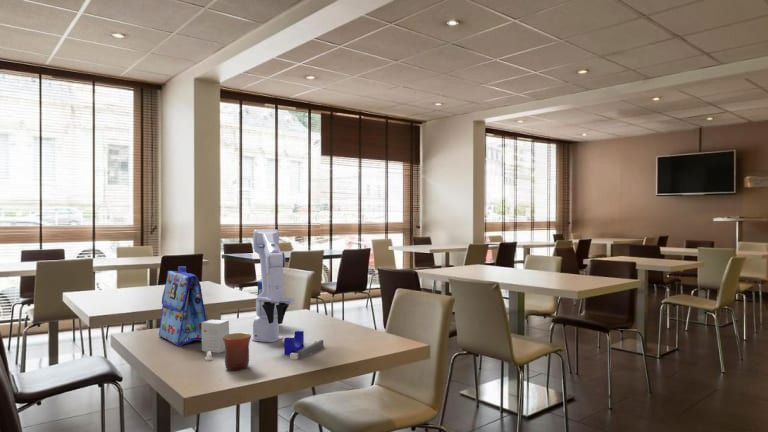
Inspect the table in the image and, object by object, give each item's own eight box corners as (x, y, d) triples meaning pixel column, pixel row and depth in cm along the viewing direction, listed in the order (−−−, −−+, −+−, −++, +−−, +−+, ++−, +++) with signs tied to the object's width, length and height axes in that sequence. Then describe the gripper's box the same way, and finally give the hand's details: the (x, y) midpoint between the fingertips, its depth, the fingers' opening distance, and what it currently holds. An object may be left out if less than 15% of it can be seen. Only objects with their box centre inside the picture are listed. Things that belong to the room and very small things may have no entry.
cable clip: (292, 346, 192) (292, 330, 192) (303, 347, 191) (303, 331, 191) (280, 355, 180) (280, 338, 180) (292, 355, 180) (292, 338, 180)
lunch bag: (157, 336, 209) (157, 265, 209) (191, 331, 218) (191, 263, 218) (176, 347, 192) (176, 269, 192) (212, 341, 201) (211, 266, 201)
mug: (248, 372, 161) (248, 338, 161) (219, 372, 160) (219, 339, 160) (255, 361, 173) (254, 330, 173) (228, 361, 172) (228, 331, 172)
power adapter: (213, 361, 174) (213, 351, 174) (206, 362, 173) (206, 353, 173) (209, 359, 177) (209, 350, 177) (202, 361, 175) (202, 351, 175)
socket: (290, 358, 175) (290, 351, 175) (316, 345, 193) (316, 338, 193) (299, 359, 174) (299, 352, 174) (324, 346, 192) (324, 339, 192)
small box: (229, 349, 188) (229, 320, 188) (220, 353, 183) (219, 323, 183) (211, 347, 191) (211, 319, 191) (201, 351, 186) (201, 322, 186)
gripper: (252, 286, 187) (252, 324, 187) (287, 288, 182) (287, 326, 182) (262, 284, 193) (262, 320, 193) (297, 285, 188) (297, 322, 188)
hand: (275, 323), depth 188 cm, fingers open, 3 cm apart
